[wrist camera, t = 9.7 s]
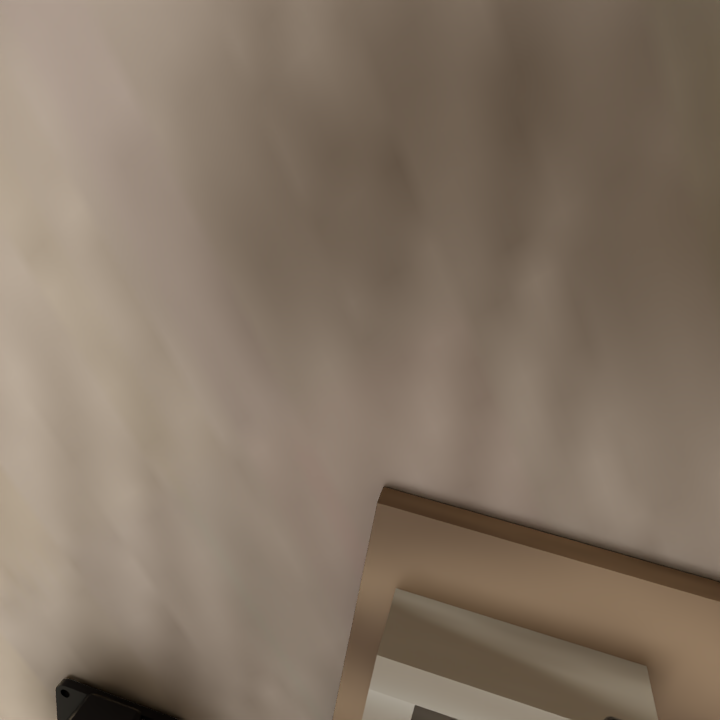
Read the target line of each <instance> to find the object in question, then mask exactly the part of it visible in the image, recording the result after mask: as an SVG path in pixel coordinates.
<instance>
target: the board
mask: <svg viewBox="0 0 720 720" xmlns="http://www.w3.org/2000/svg"><path fill="white" fill-rule="evenodd" d="M608 716H613V717H616V718H619V719H622V720H720V582H717V581H714V580H710V579H707V578H703V577H700V576H696V575H693V574H689V573H686V572H682V571H679V570H675V569H672V568H668V567H664V566H661V565H657V564H654V563H650V562H647V561H643V560H640V559H636V558H633V557H629V556H626V555H622V554H619V553H615V552H612V551H608V550H605V549H601V548H598V547H594V546H591V545H587V544H584V543H580V542H577V541H573V540H569V539H566V538H562V537H559V536H555V535H552V534H548V533H545V532H541V531H538V530H534V529H531V528H527V527H524V526H520V525H517V524H513V523H510V522H506V521H503V520H499V519H496V518H492V517H489V516H485V515H482V514H478V513H474V512H471V511H467V510H464V509H460V508H457V507H453V506H450V505H446V504H443V503H439V502H436V501H432V500H429V499H425V498H422V497H418V496H415V495H411V494H408V493H404V492H401V491H397V490H394V489H390V488H387V487H383V490H382V492H381V495H380V497H379V500H378V502H377V506H376V511H375V516H374V521H373V526H372V531H371V536H370V540H369V545H368V550H367V555H366V560H365V565H364V569H363V574H362V579H361V584H360V589H359V594H358V599H357V603H356V608H355V613H354V618H353V623H352V628H351V632H350V637H349V642H348V647H347V652H346V657H345V661H344V666H343V671H342V676H341V681H340V686H339V691H338V695H337V700H336V705H335V710H334V715H333V720H604V719H605V718H606V717H608Z"/></svg>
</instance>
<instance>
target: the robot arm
mask: <svg viewBox="0 0 720 720" xmlns="http://www.w3.org/2000/svg"><path fill="white" fill-rule="evenodd" d="M56 702H57V720H178V719H176V718H173V717H171V716H168V715H165V714H163V713H160V712H157V711H155V710H152V709H149V708H147V707H144V706H141V705H138V704H136V703H133V702H130V701H128V700H125V699H122V698H120V697H117V696H114V695H112V694H109V693H106V692H103V691H101V690H98V689H95V688H93V687H90V686H87V685H85V684H82V683H79V682H77V681H74V680H71V679H63V680H62V681H61V683H60V684H59V685H58V686H57V687H56ZM604 720H622V719H619V718H616V717H613V716H608V717H606V718H605V719H604Z"/></svg>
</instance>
